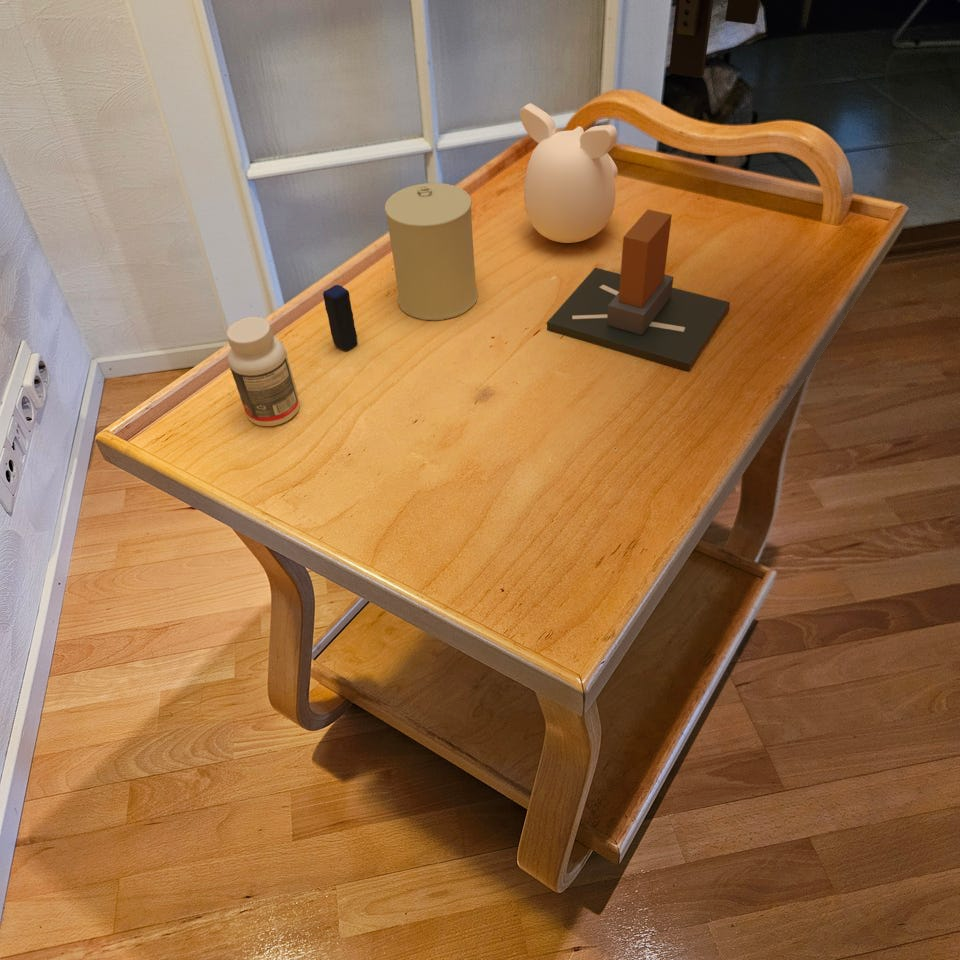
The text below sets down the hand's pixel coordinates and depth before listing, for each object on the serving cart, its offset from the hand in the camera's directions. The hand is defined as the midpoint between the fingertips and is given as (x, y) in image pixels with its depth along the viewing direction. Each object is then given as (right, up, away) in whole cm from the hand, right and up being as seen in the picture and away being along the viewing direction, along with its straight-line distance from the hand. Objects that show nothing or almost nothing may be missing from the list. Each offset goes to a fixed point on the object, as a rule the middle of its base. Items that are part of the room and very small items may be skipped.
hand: (714, 46), depth 71 cm
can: (-25, -17, +23) cm, 38 cm away
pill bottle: (-41, -31, +11) cm, 52 cm away
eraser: (-35, -23, +18) cm, 45 cm away
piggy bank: (-9, -7, +32) cm, 34 cm away
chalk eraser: (-3, -19, +17) cm, 26 cm away
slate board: (-3, -20, +18) cm, 27 cm away
